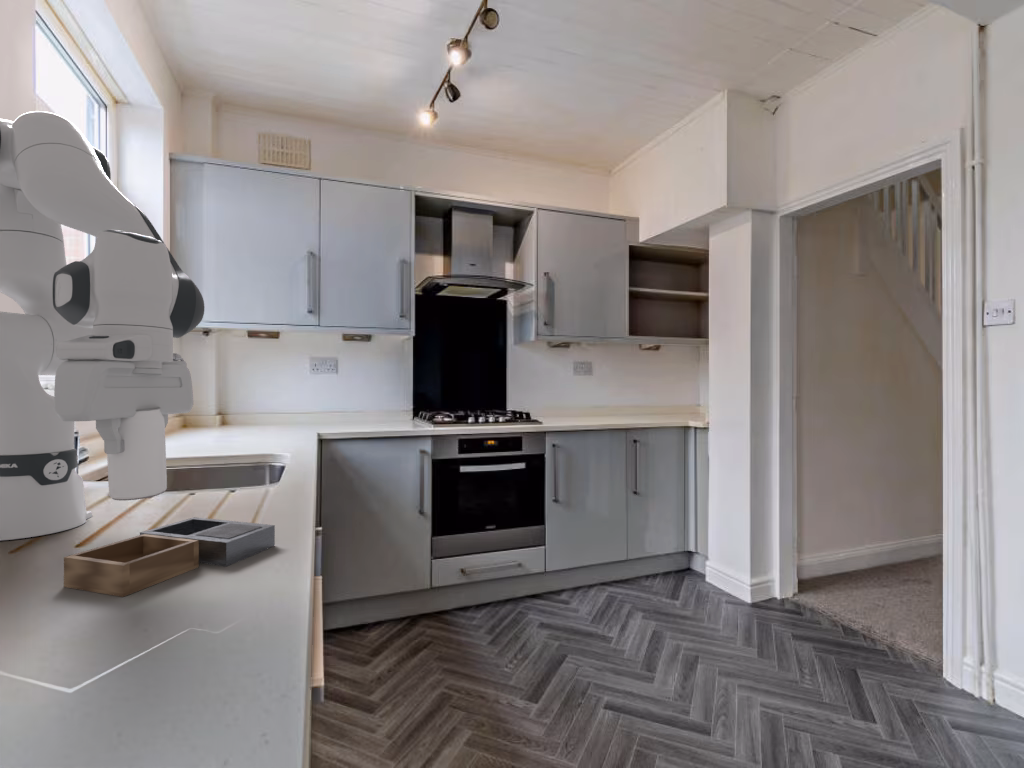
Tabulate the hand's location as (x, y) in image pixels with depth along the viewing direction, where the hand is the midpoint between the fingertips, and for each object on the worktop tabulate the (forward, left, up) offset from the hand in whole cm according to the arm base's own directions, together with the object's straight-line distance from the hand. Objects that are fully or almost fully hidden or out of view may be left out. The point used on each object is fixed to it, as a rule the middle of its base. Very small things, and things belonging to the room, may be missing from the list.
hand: (134, 450), depth 69 cm
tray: (0, +11, -17) cm, 21 cm away
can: (0, +1, -7) cm, 7 cm away
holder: (0, 0, -17) cm, 17 cm away
